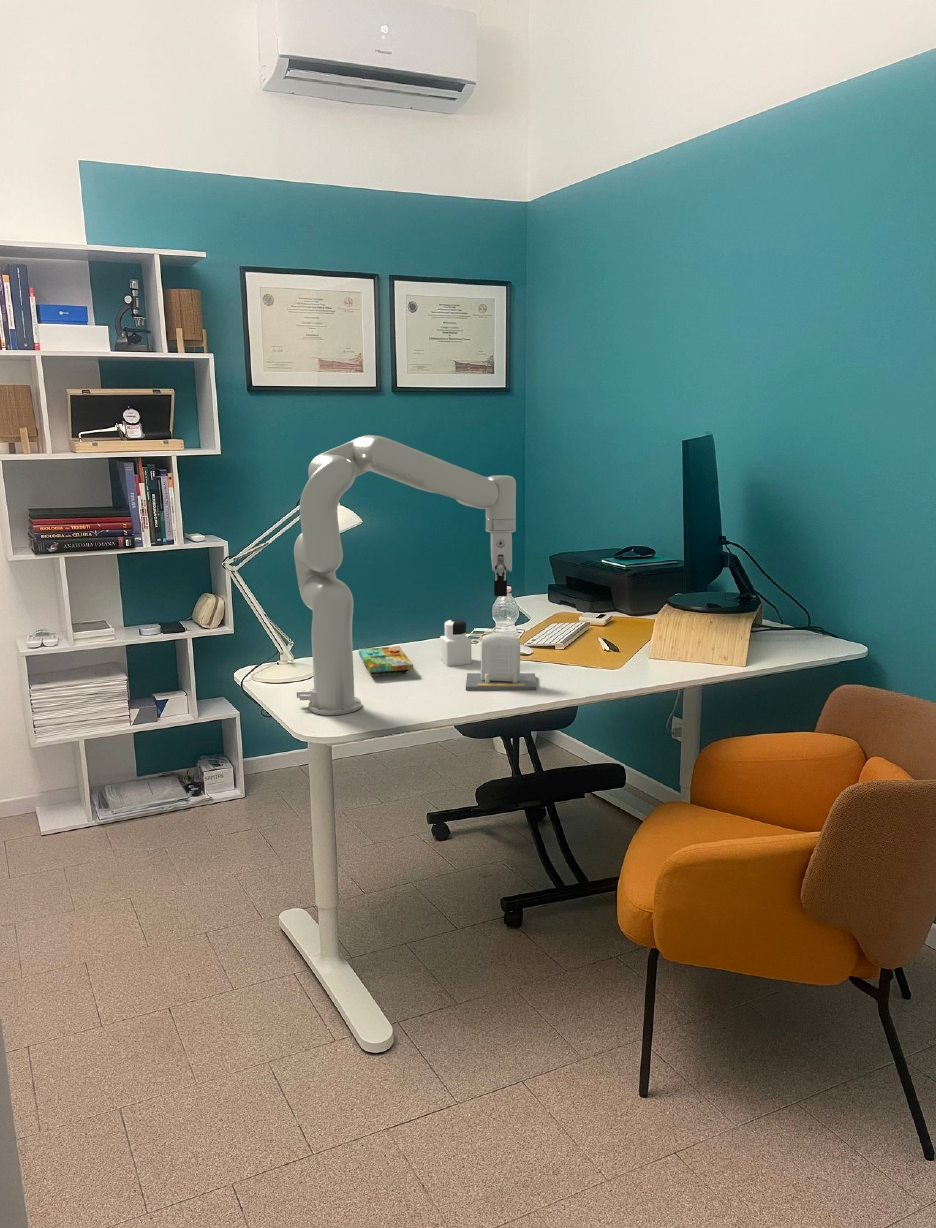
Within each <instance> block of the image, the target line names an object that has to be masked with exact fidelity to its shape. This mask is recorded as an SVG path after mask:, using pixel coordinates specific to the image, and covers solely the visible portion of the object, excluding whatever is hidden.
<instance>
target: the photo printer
mask: <svg viewBox="0 0 936 1228" xmlns="http://www.w3.org/2000/svg"><path fill="white" fill-rule="evenodd" d="M480 673H481V679H482V680H485V674H490V680H491V681H510V682H512V674H517V682H518V681H519V680H520V673H521V641H520V638H519V637H518V636H516V635H513V634H509V633H502V632H501V633H499V632H498V633H490V634H489V633H488V634H486V635H483V636H482V639H481V642H480Z"/></svg>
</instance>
